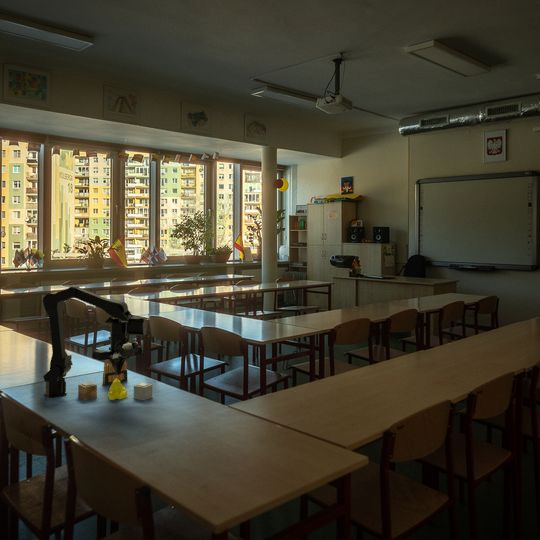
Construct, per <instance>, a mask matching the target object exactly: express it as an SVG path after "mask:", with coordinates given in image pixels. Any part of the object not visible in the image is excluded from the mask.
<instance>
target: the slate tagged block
mask: <svg viewBox="0 0 540 540" xmlns="http://www.w3.org/2000/svg"><path fill="white" fill-rule="evenodd" d="M150 398H153V384H152V383H146V382H140V383H138V384H135V385H133V399H135V400H140V401H146V400H149V399H150Z"/></svg>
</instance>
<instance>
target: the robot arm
mask: <svg viewBox="0 0 540 540" xmlns="http://www.w3.org/2000/svg"><path fill="white" fill-rule="evenodd" d="M72 298H74V299H77V300H80V301H82V302H84V303H87V304H90V305H92V306H94V307H97V308H100V309H101V310H102V311H103V312H105V313H106V314H107V315H109V316H108V318H107V319H106V320H105V321H104V322H105V324H110V336H108V340H110V346H109V347H108V351H107V350H104V349H99V350H94V351H92V355H91V356H92V357H91V358H92V359H94V360H97V361H105V360H107V361H108V360H109V361H110V362H111V365H112V366H113V368H114V371H115V373H116V375H119V374H120V372H121V369H122V367H123V364H124V362H125V361H126V362H127V360H128V359H130V358H131V357H134V355H136V356H139V355H143V351H144V349H143V348H142V346H140V345H139V343H138V342H137V341H135V342H129V337H128V336H127V334H129V335H130V336H146V334H147V328H148V327H147V326H148V325H147V321H146V317H134V316H133V314H132V312H131V311H130V310H129V306H128V304H127V303H126V302H125V301H121V300H118V299H111V298H106V297H103V296H101V295H98V294H96V293H93V292H90V291H88V290H86V289H84V288H81V287H80V286H77V285H73V286H72V285H71V286H69V287H68V288H65V289H64V290H60V291H55V292H50V293H46V294H45V295H44V296H43V297H42V304H43V308H44V312H45V313H46V315H47V316H48V321H49V330H50V339H51V340H50V341H51V350H52V351H51V352H52V354H51V358H50V362H49V370H48V371H47V372H46V373H45V374H44V375H43V376H42V379H43V381H44V382H45V392H43V395H44V396H46V397H48V398H50V399H51V398H52V399H53V398H56V397H61V396H67V381H66V378H65V377H66V376H67V374H68V372H70V371H71V369H72V366H73V361H72V357H73V356H72V354H68V353H67V351H66V345H65V333H64V324H63V323H64V321H63V313H64V312H63V311H64V309H65V302H66V301H68V300H70V299H72Z"/></svg>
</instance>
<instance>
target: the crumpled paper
mask: <svg viewBox="0 0 540 540" xmlns="http://www.w3.org/2000/svg"><path fill="white" fill-rule="evenodd" d="M108 390H109V391H108V393H107V394H108V396H107V397H108V398H109V399H108V400H110V401H114V400H117V399H118V400H123V399H125V398H127V397H128V390H126V387H124V386H123V383H121V382H120V380H118V379H117V378H116V379H115V380H114V381H113V383H112V385H110V386H109V389H108Z"/></svg>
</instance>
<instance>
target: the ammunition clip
mask: <svg viewBox="0 0 540 540" xmlns="http://www.w3.org/2000/svg"><path fill="white" fill-rule="evenodd" d="M103 361H104V364H103V374H102V383H101V384H102V386H105V387H106V386H111V385H112V383H113V381H114V380H115V379H116V378H117V379H118V380H120V382H121V384H123V383H127V382H128V365H127V363H128V362H127V360H126V361H125V362H124V364H123V367H122V369H121V372H120V374H119V375H116V373H115V371H114V368H113V366H112V364H111V362H110V361H109V359H108V360H103Z"/></svg>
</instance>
